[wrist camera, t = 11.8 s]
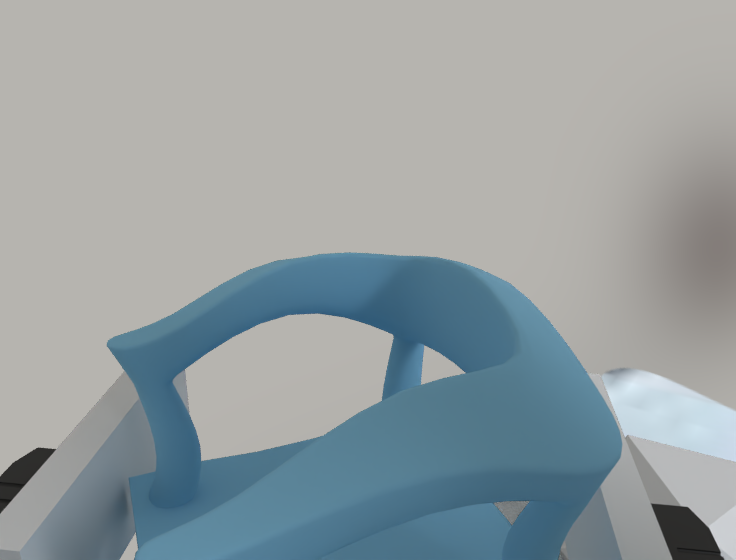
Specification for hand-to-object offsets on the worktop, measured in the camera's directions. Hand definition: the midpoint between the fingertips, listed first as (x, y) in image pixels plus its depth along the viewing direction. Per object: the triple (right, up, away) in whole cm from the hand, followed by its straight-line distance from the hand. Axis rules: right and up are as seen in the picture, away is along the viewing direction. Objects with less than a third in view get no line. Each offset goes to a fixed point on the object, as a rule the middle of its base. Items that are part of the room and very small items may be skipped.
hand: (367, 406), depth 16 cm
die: (+12, -11, +11) cm, 19 cm away
